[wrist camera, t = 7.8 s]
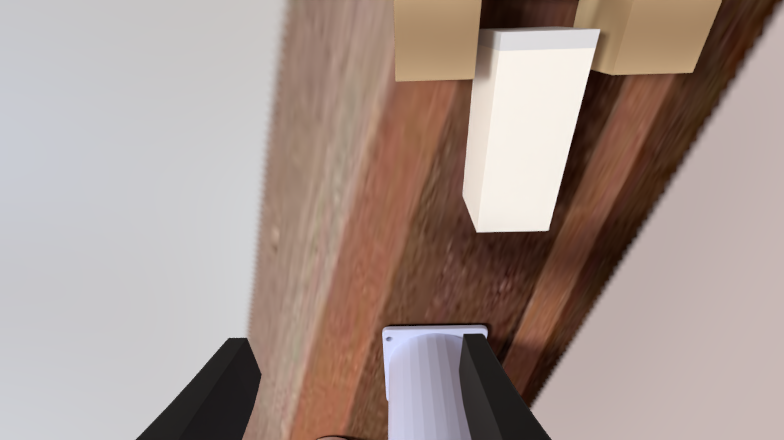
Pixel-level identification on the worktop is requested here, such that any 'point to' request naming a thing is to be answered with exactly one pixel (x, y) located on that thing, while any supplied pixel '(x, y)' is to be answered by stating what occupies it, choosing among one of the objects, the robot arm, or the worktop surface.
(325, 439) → the supplement bottle
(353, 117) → the worktop surface
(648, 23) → the tan bridge
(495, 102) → the white block
